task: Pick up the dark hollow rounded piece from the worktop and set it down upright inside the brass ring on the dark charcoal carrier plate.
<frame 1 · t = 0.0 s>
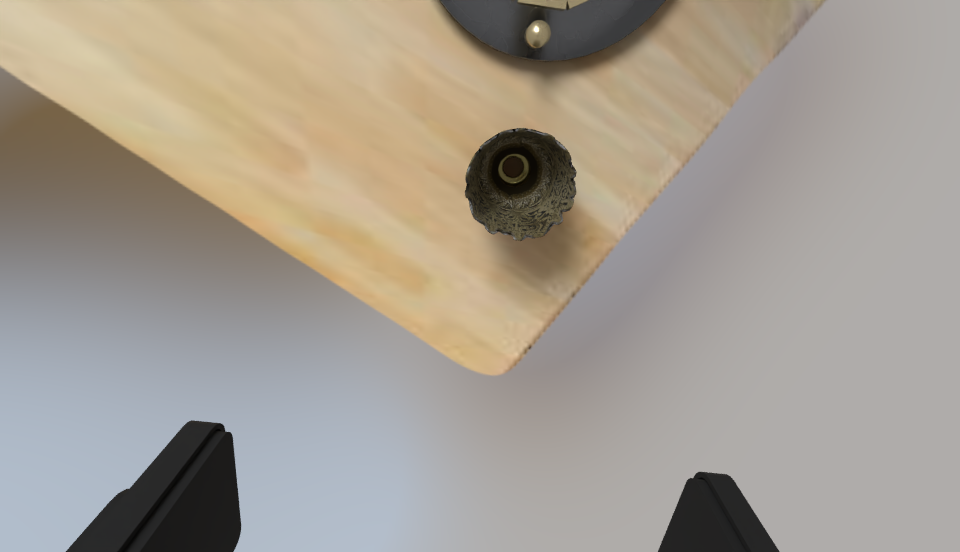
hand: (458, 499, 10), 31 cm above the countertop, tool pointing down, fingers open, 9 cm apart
dark hollow rounded piece: (513, 166, 38), on the countertop
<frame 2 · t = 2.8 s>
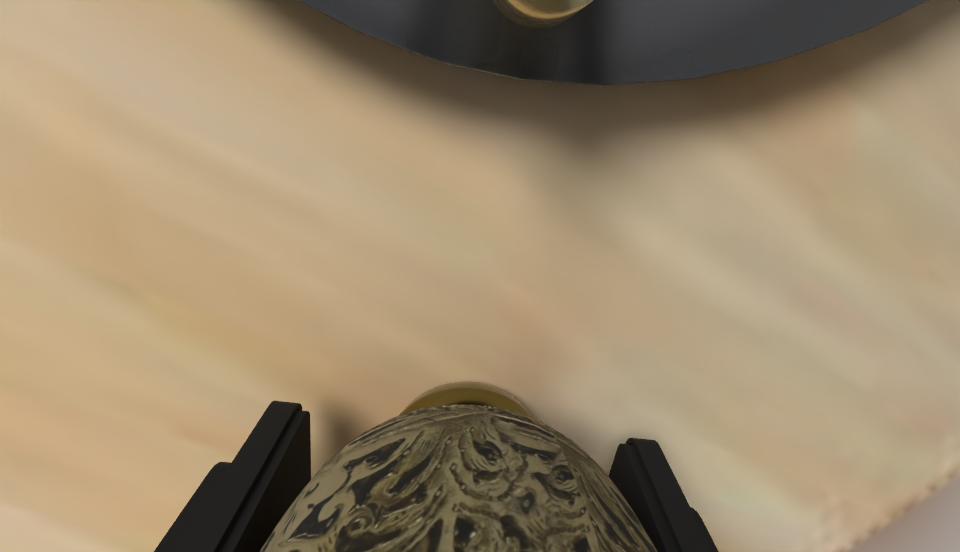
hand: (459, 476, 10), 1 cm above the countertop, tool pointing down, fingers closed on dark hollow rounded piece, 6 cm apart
dark hollow rounded piece: (466, 424, 12), on the countertop, touching gripper
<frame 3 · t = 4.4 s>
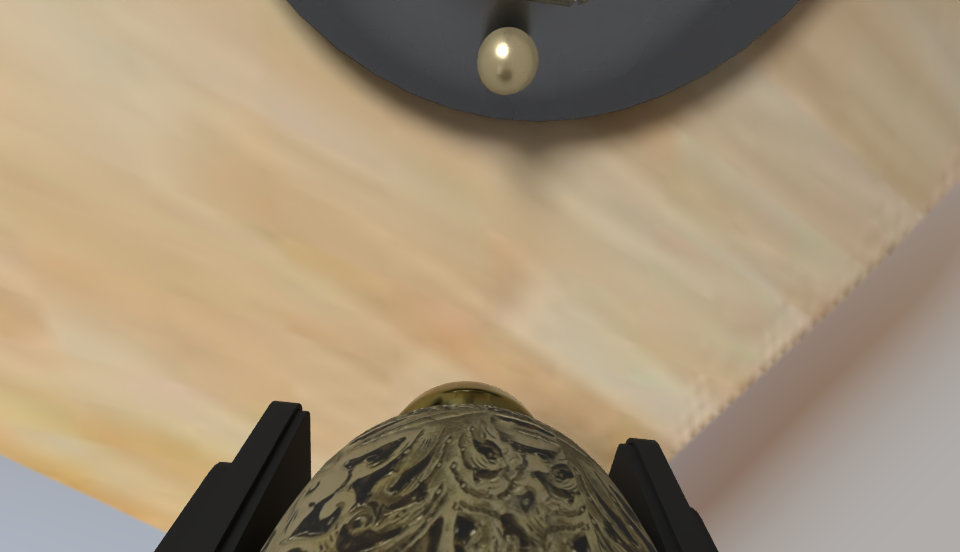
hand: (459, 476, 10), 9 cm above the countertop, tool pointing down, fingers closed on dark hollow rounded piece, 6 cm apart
dark hollow rounded piece: (467, 424, 12), point 7 cm above the countertop, touching gripper
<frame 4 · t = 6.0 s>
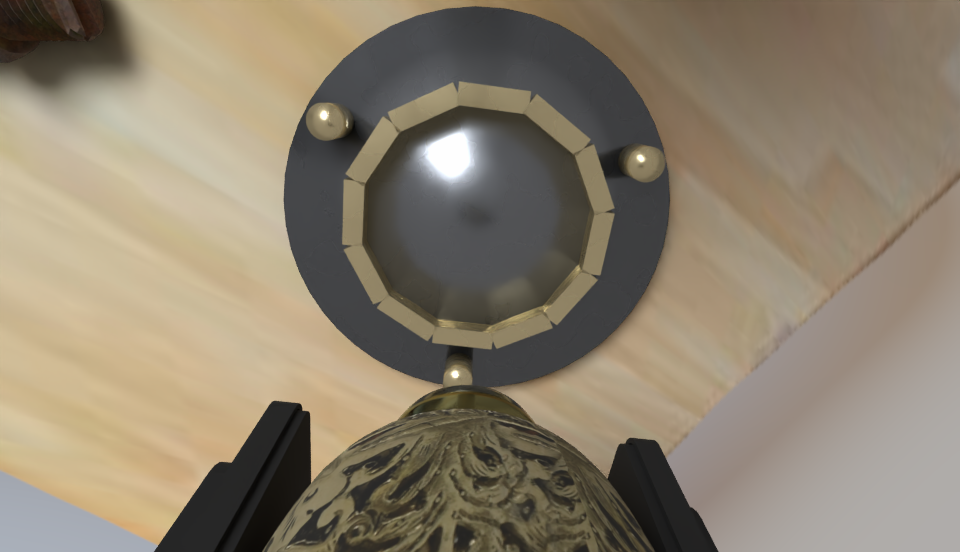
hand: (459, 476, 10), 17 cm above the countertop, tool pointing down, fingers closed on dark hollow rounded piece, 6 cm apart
carrier plate: (477, 219, 25), on the countertop
dark hollow rounded piece: (466, 427, 11), point 15 cm above the countertop, touching gripper
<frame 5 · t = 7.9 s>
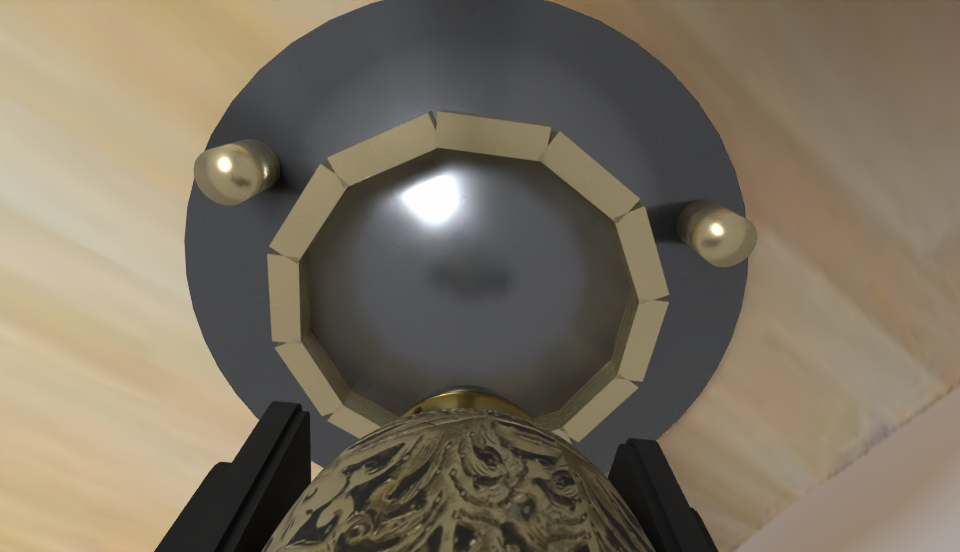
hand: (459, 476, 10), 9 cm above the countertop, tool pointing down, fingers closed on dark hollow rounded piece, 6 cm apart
carrier plate: (468, 294, 18), on the countertop
dark hollow rounded piece: (466, 427, 11), point 7 cm above the countertop, touching gripper
when the fingers open (4 cm above the countertop, at t = 9.3 s): dark hollow rounded piece drops 2 cm, resting on carrier plate.
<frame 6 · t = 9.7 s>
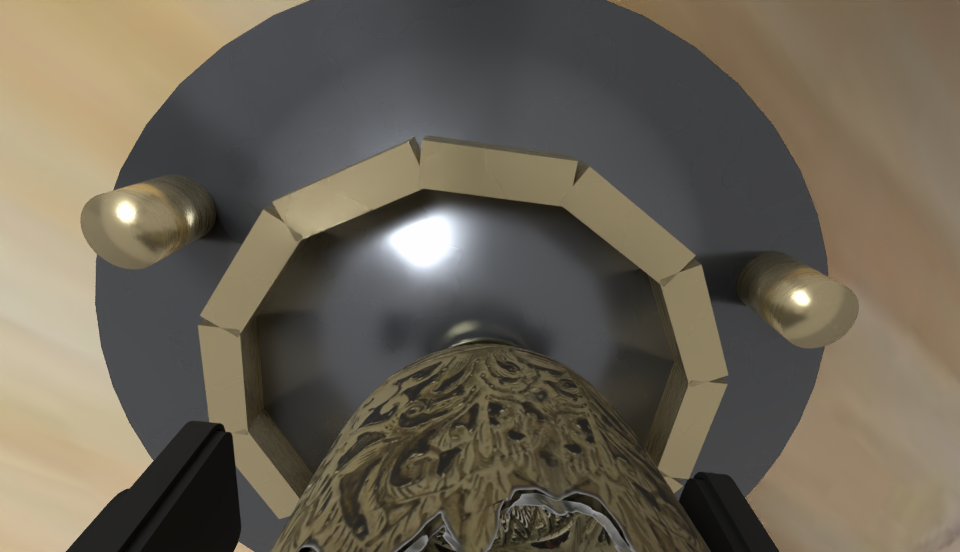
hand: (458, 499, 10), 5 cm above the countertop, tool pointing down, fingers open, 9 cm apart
carrier plate: (465, 361, 14), on the countertop
dark hollow rounded piece: (483, 377, 13), point 1 cm above the countertop, touching carrier plate
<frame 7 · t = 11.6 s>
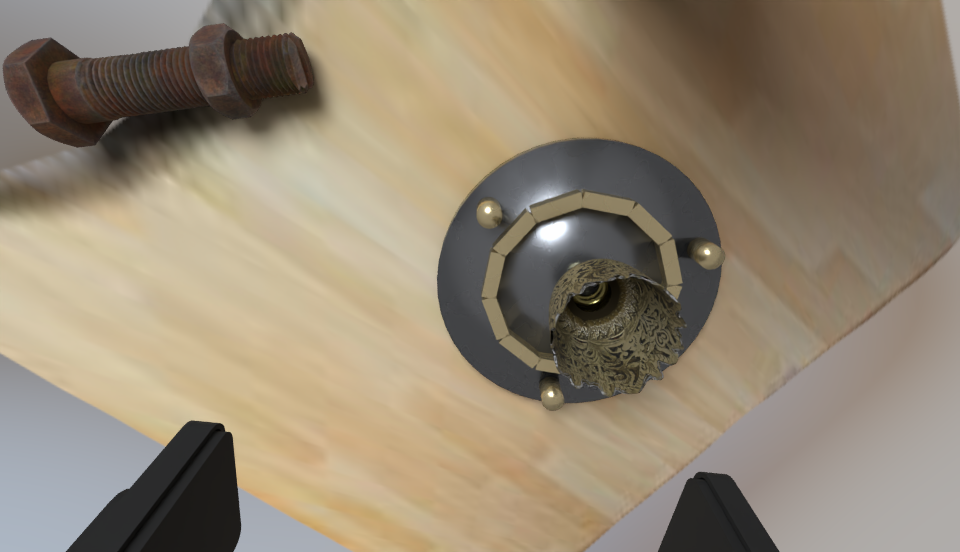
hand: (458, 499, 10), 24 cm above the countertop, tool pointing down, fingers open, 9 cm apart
bolt: (201, 83, 29), on the countertop
carrier plate: (575, 279, 34), on the countertop
dark hollow rounded piece: (586, 283, 33), point 1 cm above the countertop, touching carrier plate
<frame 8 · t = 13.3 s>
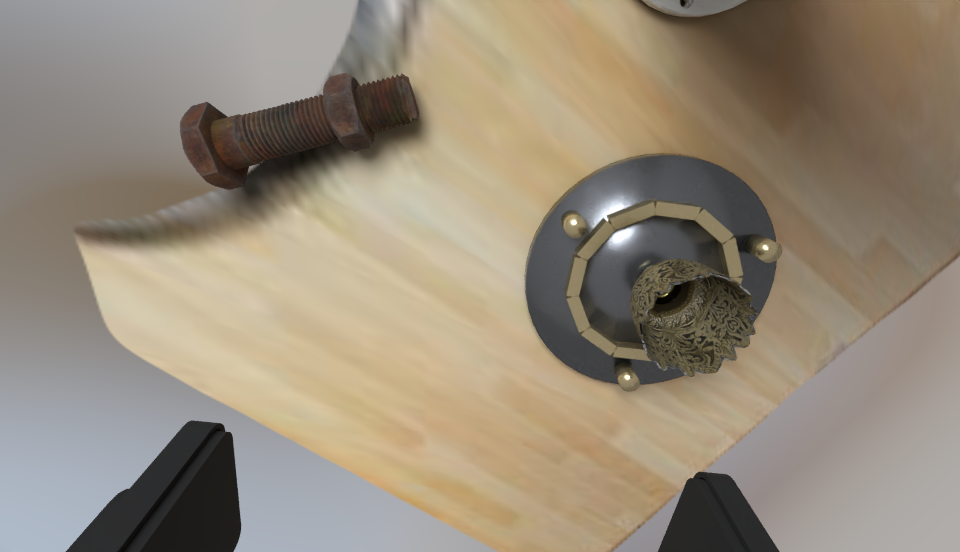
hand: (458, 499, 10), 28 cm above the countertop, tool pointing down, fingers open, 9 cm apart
bolt: (320, 123, 34), on the countertop
carrier plate: (644, 276, 38), on the countertop
dark hollow rounded piece: (655, 279, 37), point 1 cm above the countertop, touching carrier plate
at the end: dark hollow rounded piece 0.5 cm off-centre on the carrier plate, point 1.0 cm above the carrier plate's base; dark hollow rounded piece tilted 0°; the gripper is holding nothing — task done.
